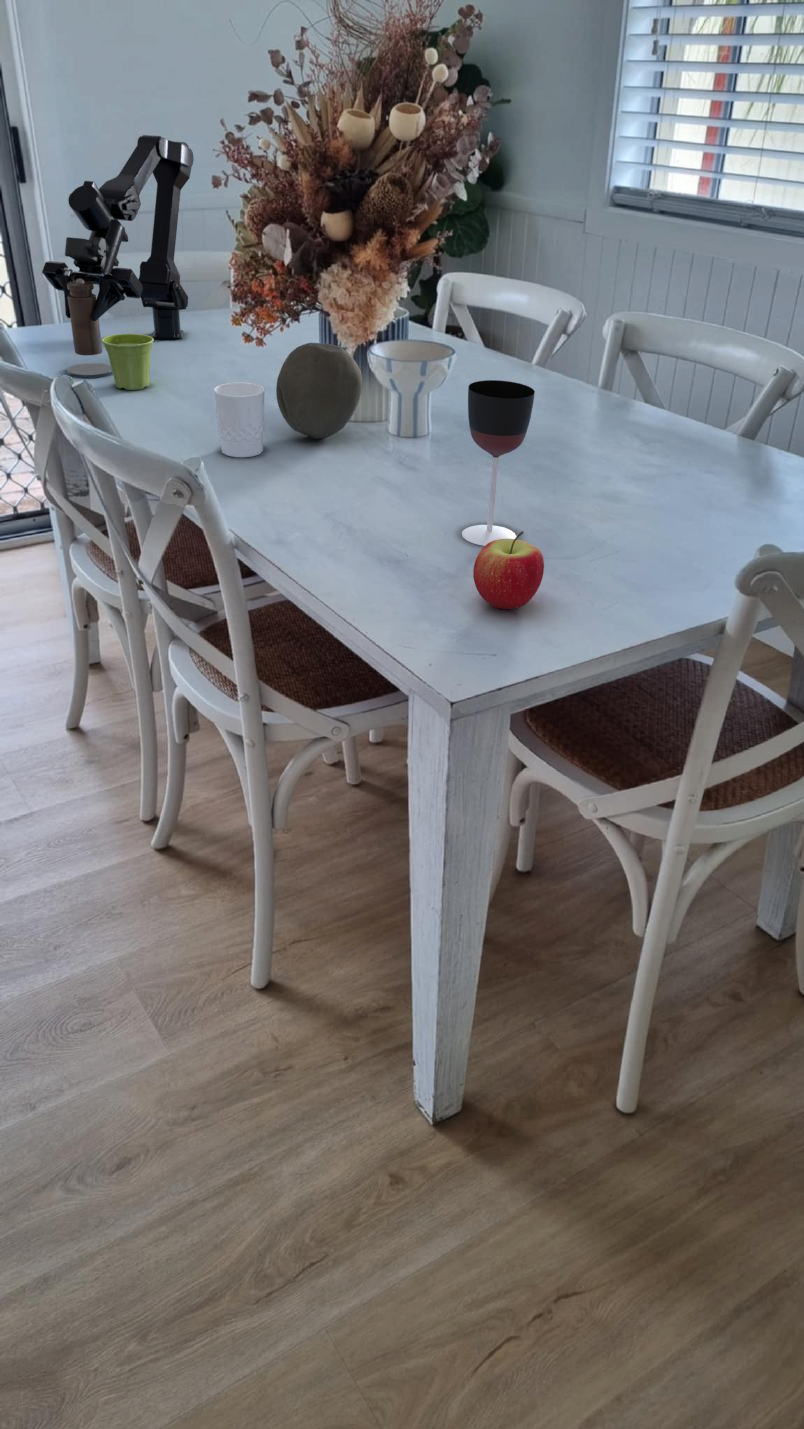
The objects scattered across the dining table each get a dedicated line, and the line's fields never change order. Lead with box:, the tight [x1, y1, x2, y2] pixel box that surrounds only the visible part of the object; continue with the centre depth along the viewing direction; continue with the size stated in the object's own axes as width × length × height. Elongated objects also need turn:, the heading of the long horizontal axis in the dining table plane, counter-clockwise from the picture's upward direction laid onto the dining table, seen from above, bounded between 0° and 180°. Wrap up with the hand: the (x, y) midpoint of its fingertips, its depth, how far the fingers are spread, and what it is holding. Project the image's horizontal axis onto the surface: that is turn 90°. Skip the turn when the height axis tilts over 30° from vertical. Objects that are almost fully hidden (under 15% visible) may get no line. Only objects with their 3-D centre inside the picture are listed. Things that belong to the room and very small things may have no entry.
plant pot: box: [101, 333, 155, 391], centre depth 199 cm, size 9×9×9 cm
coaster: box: [66, 362, 113, 379], centre depth 209 cm, size 9×9×1 cm
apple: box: [472, 530, 545, 610], centre depth 126 cm, size 8×8×10 cm
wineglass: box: [461, 379, 536, 547], centre depth 141 cm, size 8×9×20 cm
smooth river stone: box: [275, 342, 363, 440], centre depth 176 cm, size 14×14×15 cm
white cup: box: [213, 381, 265, 458], centre depth 170 cm, size 8×8×10 cm
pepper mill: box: [67, 279, 103, 356], centre depth 203 cm, size 5×5×14 cm
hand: (80, 318), depth 202 cm, fingers closed on pepper mill, 5 cm apart
